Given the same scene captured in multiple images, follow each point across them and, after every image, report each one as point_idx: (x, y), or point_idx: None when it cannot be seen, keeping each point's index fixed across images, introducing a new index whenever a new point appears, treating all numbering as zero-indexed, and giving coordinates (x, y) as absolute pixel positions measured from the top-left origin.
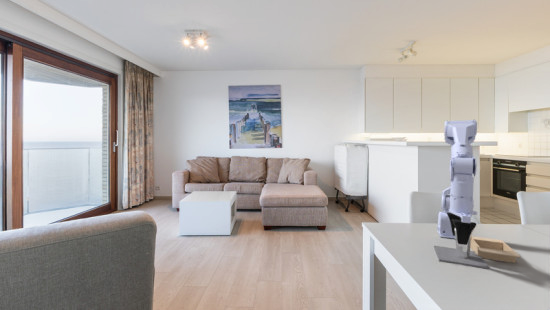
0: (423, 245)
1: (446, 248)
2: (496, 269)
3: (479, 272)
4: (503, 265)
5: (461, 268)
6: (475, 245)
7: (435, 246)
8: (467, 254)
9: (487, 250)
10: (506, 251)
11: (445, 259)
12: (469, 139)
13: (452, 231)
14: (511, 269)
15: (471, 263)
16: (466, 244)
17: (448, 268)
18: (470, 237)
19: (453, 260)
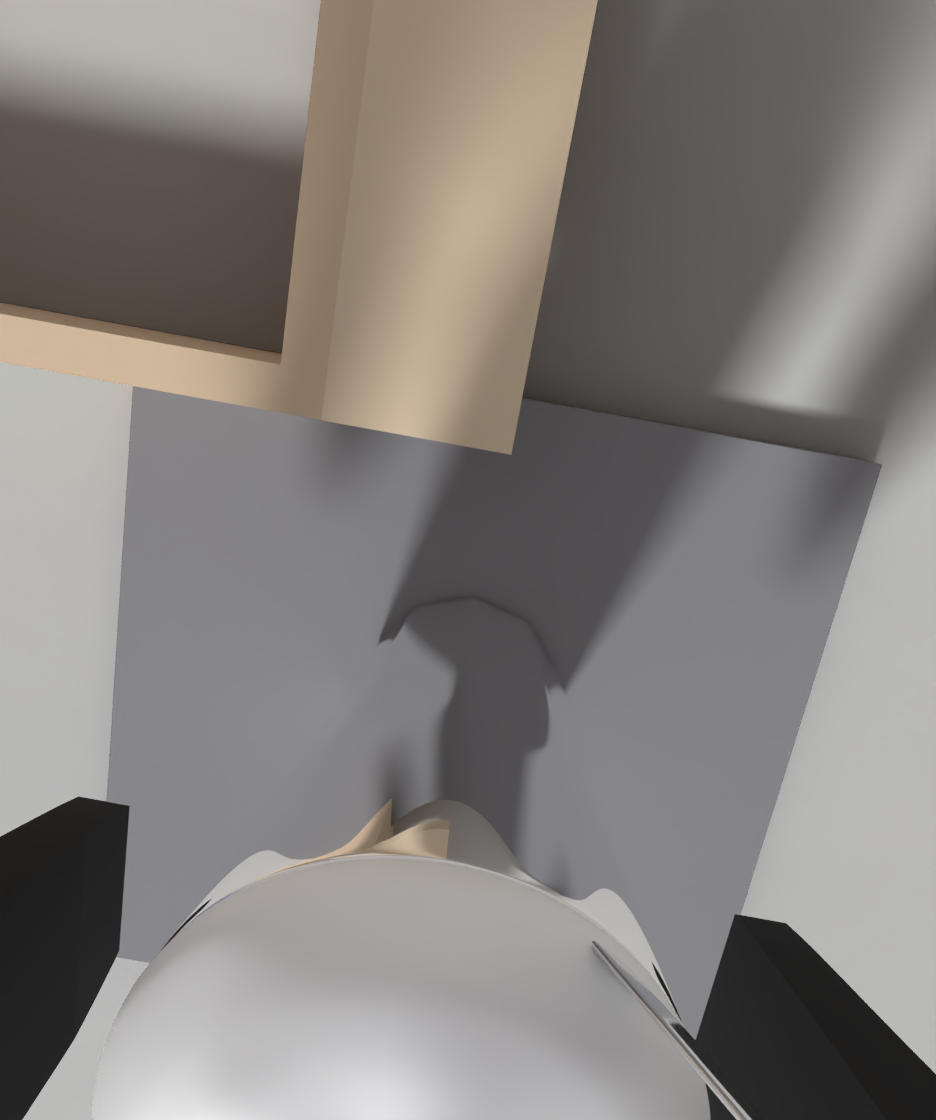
0: (101, 1052)
1: (171, 812)
2: (848, 334)
3: None
4: (638, 98)
5: (897, 850)
6: (97, 376)
7: (141, 946)
8: (556, 683)
9: (450, 284)
10: None
11: (678, 983)
12: None
13: (51, 1066)
14: (801, 40)
15: (759, 677)
16: (796, 939)
17: (924, 1008)
18: (616, 870)
19: (697, 894)
